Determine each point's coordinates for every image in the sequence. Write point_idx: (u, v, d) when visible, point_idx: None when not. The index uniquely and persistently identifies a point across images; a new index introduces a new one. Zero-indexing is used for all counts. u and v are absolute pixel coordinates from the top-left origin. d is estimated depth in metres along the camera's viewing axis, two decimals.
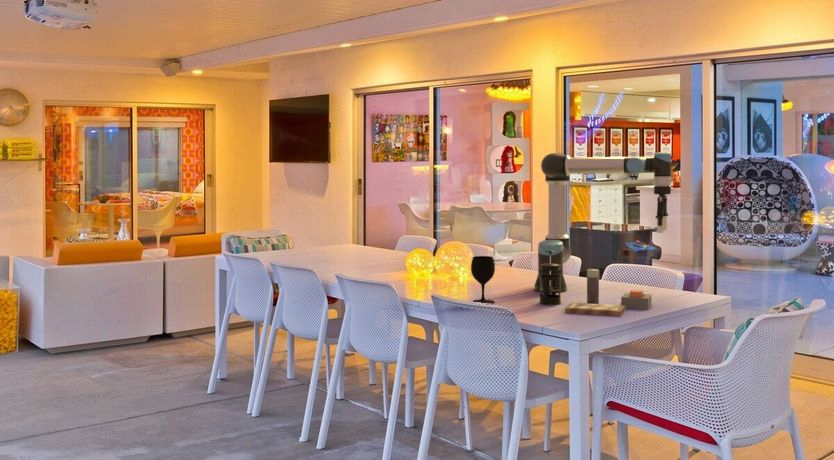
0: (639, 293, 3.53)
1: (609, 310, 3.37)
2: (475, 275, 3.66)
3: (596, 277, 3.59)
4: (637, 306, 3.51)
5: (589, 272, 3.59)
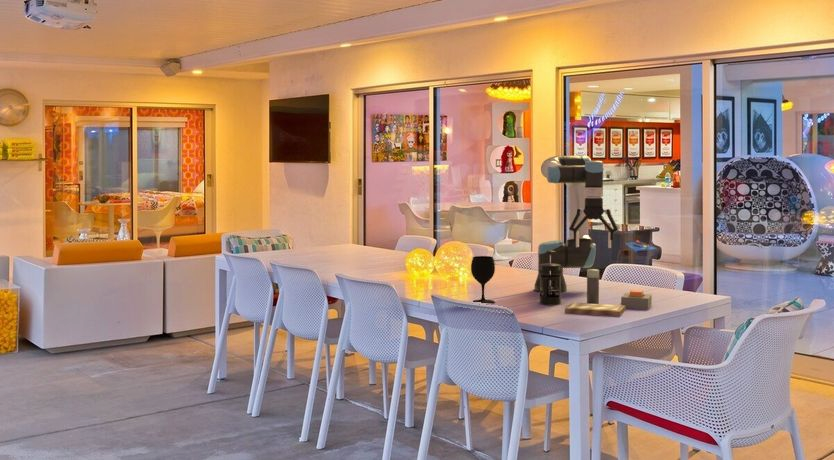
0: (639, 293, 3.53)
1: (609, 310, 3.37)
2: (475, 275, 3.66)
3: (596, 277, 3.59)
4: (637, 306, 3.51)
5: (589, 272, 3.59)
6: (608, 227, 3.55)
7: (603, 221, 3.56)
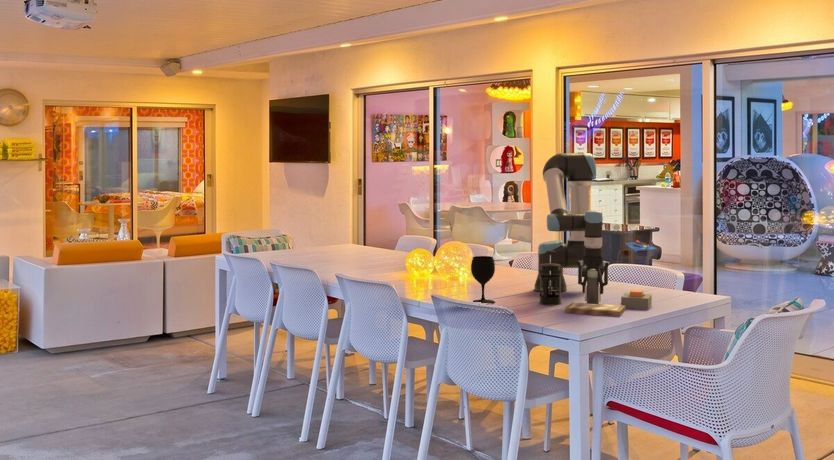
0: (639, 293, 3.53)
1: (609, 310, 3.37)
2: (475, 275, 3.66)
3: (596, 277, 3.59)
4: (637, 306, 3.51)
5: (589, 272, 3.59)
6: (600, 280, 3.59)
7: (598, 273, 3.59)
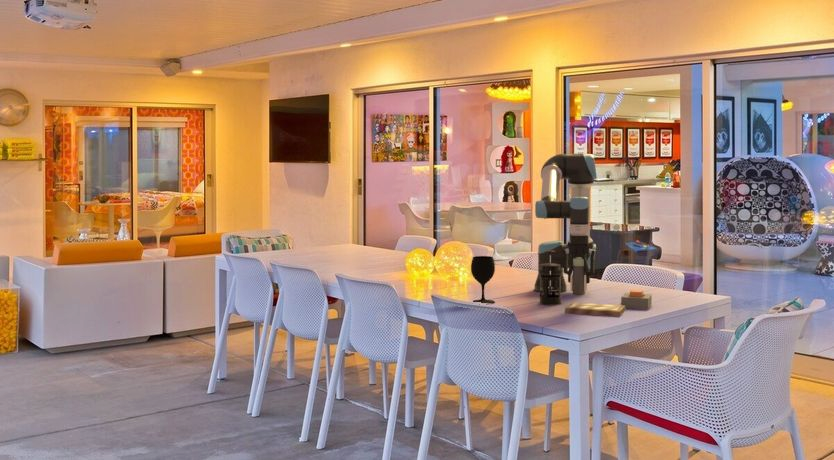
0: (639, 293, 3.53)
1: (609, 310, 3.37)
2: (475, 275, 3.66)
3: (582, 265, 3.45)
4: (637, 306, 3.51)
5: (575, 260, 3.46)
6: (586, 269, 3.45)
7: (584, 261, 3.45)
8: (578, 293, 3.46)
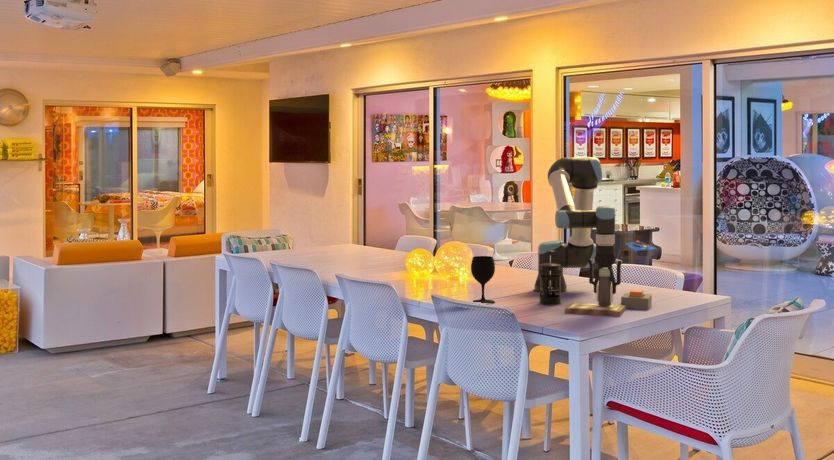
0: (639, 293, 3.53)
1: (609, 310, 3.37)
2: (475, 275, 3.66)
3: (608, 276, 3.41)
4: (637, 306, 3.51)
5: (601, 271, 3.42)
6: (612, 280, 3.41)
7: (610, 272, 3.42)
8: (604, 304, 3.42)
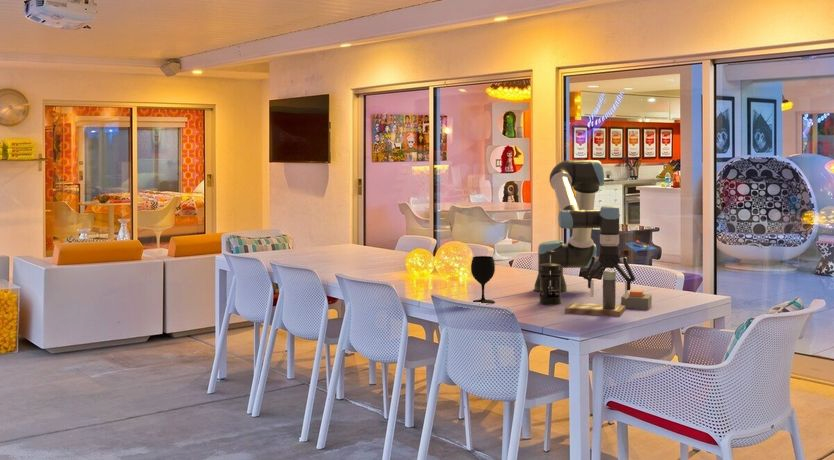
0: (639, 293, 3.53)
1: (609, 310, 3.37)
2: (475, 275, 3.66)
3: (613, 279, 3.37)
4: (637, 306, 3.51)
5: (605, 274, 3.37)
6: (625, 277, 3.36)
7: (619, 270, 3.36)
8: (608, 307, 3.38)
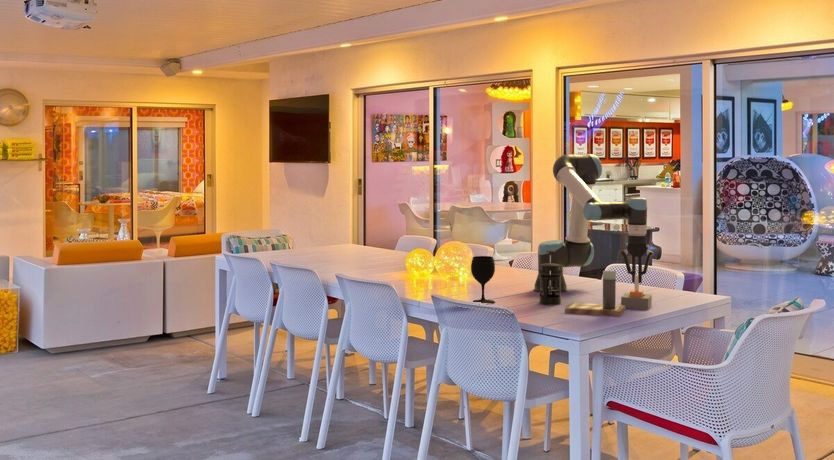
0: (639, 293, 3.53)
1: (609, 310, 3.37)
2: (475, 275, 3.66)
3: (613, 279, 3.37)
4: (637, 306, 3.51)
5: (605, 274, 3.38)
6: (639, 269, 3.54)
7: (639, 261, 3.54)
8: (609, 307, 3.38)
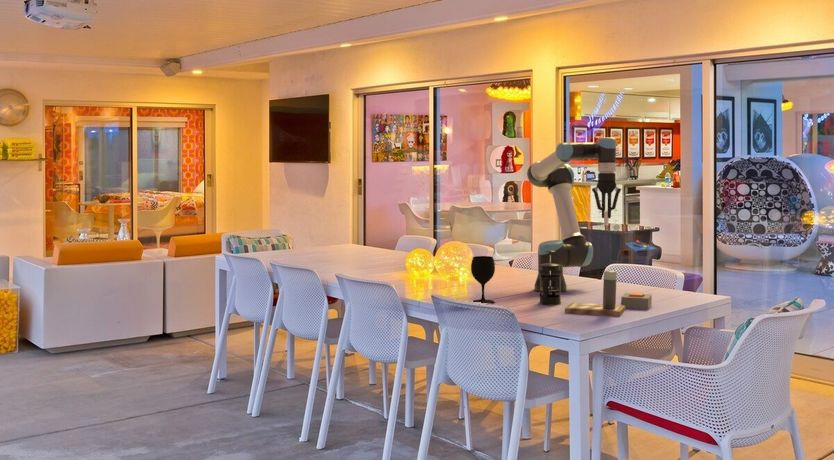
0: (639, 296, 3.54)
1: (609, 310, 3.37)
2: (475, 275, 3.66)
3: (614, 279, 3.37)
4: (637, 306, 3.51)
5: (606, 274, 3.37)
6: (608, 205, 3.74)
7: (609, 197, 3.74)
8: (609, 307, 3.38)
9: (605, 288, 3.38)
